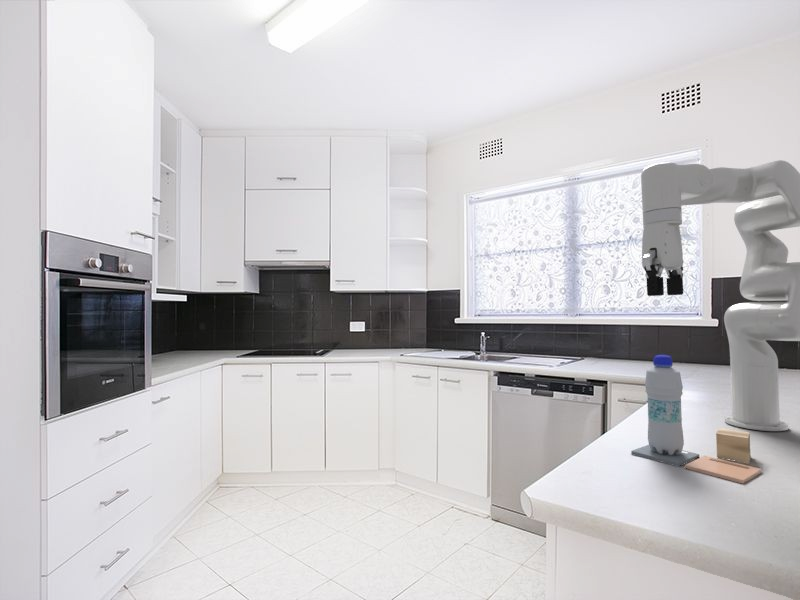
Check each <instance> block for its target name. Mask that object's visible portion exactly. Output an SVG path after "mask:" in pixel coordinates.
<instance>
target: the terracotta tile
mask: <svg viewBox="0 0 800 600" xmlns="http://www.w3.org/2000/svg"><path fill="white" fill-rule="evenodd" d="M686 468H687V469H686ZM684 469H686V470H691V471H694V472H698V473H701V474H706V475H709V476H713V477H715V478H716V477H717V478H719V479H720V478H721V479H724V480H728V481H731V482H735V483H739V484H745V483H747V482H748V481H750V480H752V479H753V478H755V477H756V476H758V475H759V474H761V473H762V472H763V471H762V468H759V467H756V466H750V465H748V464H747V465H746V464H744V463H743V464H742V463H739V462H735V461H731V460H725V459H720V458H717V457H712V456H708V455H703V456H700V457H699V458H697V459H694V460H692V461H690V462H688V463H686V464H684Z"/></svg>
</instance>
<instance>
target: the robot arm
mask: <svg viewBox="0 0 800 600" xmlns="http://www.w3.org/2000/svg"><path fill="white" fill-rule="evenodd" d="M640 184H641V187H640V188H641V203H642V205H641V209H642V225H643V230H642V238H641V239H642V241H641V243H642V244H641V266H642V268H643V269H644V271H645V276H644V277H645V278H646V293H647V294H646V295H647V296H648V297H655V296H656V297H657V296H659V297H661V296H664V295H665V290H664V289H665V287H664V276H662V274H663V271H665V273H666V274H667V278H666V294H667V296H682V295H683V294H684V278H683V277H684V272H683V271H684V266H683V265H684V257H683V243H682V235H681V230H680V228H681V227H680V226H681V225H683V213H682V212H683V210H682V207H683V206H696V205H708V204H717V203H718V204H719V203H722V204H725V203H726V204H729V203H730V204H731V203H733V204H738V203H739V204H741V203H745V204H743V205H741V206H739V207H738V208H737V209H736V211H735V212H734V217H733V221H734V225H735V227H736V229H737V231H738V233H739V235H740V237H741V239H742V242H743V243H744V245H745V249H746V253H745V254H746V255H745V260H744V265H743V269H742V273H741V278H740V282H739V291H740V295H741V296H742V297H743V298H744V299H745V300H746V299H747V300H749V301H750V302H740V303H736V304H733V305H731V306H729V307H728V308H727V310H725V313H724V315H723V322H724V327H725V330H726V331H725V332H726V335H727V340H728V344H729V345H728V346H729V357H730V358H729V363H730V364H729V367H730V368H729V369H730V394H731V395H730V396H731V397H730V398H731V401H730V402H731V414H729V415H726V416H724V422H725V423H727V424H729V425H731V426H733V427H734V426H735V427H737V428H742V429H743V428H744V429H748V430H753V431H763V432H785V431H788V430H789V424H788V423H787V422H785V421H782V420H781V417H780V415H781V414H780V410H781V409H780V386H779V384H780V383H779V381H780V380H779V359H778V356H777V354H776V352H775V350H774V349H773V348H772V346H770V344H769V343H768V342H767V341H781V342H782V341H784V342H800V261H795V262H793V261H792V262H788V257H789V248H788V247H787V246H786V244H785V243H784V242H783V241H782V240H781V239H780V238H778V237H777V236H776V235H774V234H773V233H772V232H771V231H776V230H783V229H784V230H785V229H791V228H797V227H798V228H799V227H800V172H799V171H798V169H797V168H796V167H795V166H793V165H792V164H791V163H790V162H788V161H786V160H780V159H779V160H773V161H771V162H766V163H762V164H759V165H755V166H752V167H751V166H750V167H747V168H746V167H745V168H734V167H726V166H725V167H721V166H719V167H714V168H708V167H707V166H705V165H703V164H700V163H686V164H677V163H675V162H672V161H667V162H666V161H665V162H660V163H659V162H658V163H654V164H651V165H648V166H647V167H644V169H643V170H642V172H641V175H640ZM751 301H752V302H751Z"/></svg>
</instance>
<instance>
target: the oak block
mask: <svg viewBox="0 0 800 600" xmlns="http://www.w3.org/2000/svg"><path fill="white" fill-rule="evenodd" d="M715 435H716V439H715V440H716V458H717V457H718V458H717V459H720V458H724V459H723V460H725V459H730V460H729V461H731V460H735V461H734V462H737V461H739V462H738V463H741V464H742V463H743V464H747V465H749V464H750V461H751V457H752V456H751V433H750V432H747V431H740V430H735V429H733V430H732V429H727V428H718V430H717V432H716V434H715Z"/></svg>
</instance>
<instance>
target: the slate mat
mask: <svg viewBox="0 0 800 600" xmlns="http://www.w3.org/2000/svg"><path fill="white" fill-rule="evenodd" d="M630 451H631V452H630V453H631V455H634V454H635V455H634V456H639V457H642V458H645V459H649V460H652V461H653V460H654V461H656V460H658V461H657V462H660V461H662V462H661V463H664V462H665V463H664V464H668V463H669V464H668V465H671V464H673V465H672V466H675V465H676V467H681V466H683V465H682V464H684V463H686V462H688V463H690V462H692V461H694V460H696V459H695V458H697V457H699V458H700V453H696V452H691V451H688V450H682V452H681V454H679V455H676V454H675V453H674V454H673V455H672V456H670V455H668V451H667V450H663V454H659V453H658V452H657V451H656V452H654V451H653V450H651V448H650V446H649V444H647V445H644V446H641V447H638V448H636V449H632V450H630ZM693 459H694V460H693ZM697 459H698V458H697ZM691 460H692V461H691ZM689 461H690V462H689ZM686 464H687V463H686ZM680 465H681V466H680ZM684 465H685V464H684Z"/></svg>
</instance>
